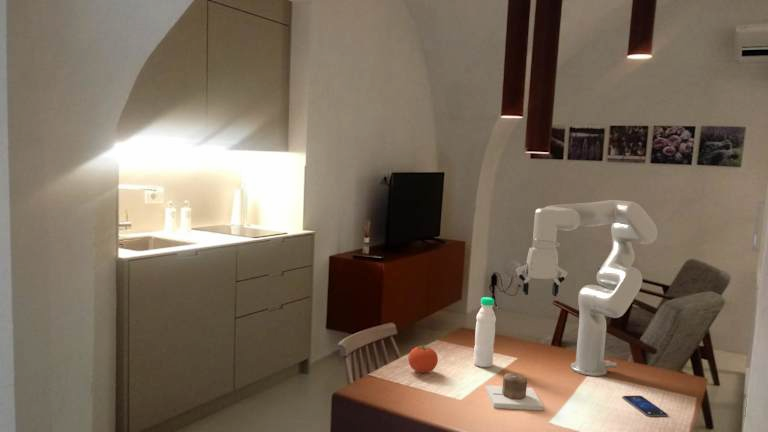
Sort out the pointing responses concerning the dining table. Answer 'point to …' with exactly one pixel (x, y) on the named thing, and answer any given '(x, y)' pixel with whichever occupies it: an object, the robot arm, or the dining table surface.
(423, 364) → the tomato
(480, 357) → the water bottle
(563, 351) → the dining table surface
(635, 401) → the smartphone
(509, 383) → the brown short cylinder
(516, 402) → the plate
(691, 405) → the dining table surface
